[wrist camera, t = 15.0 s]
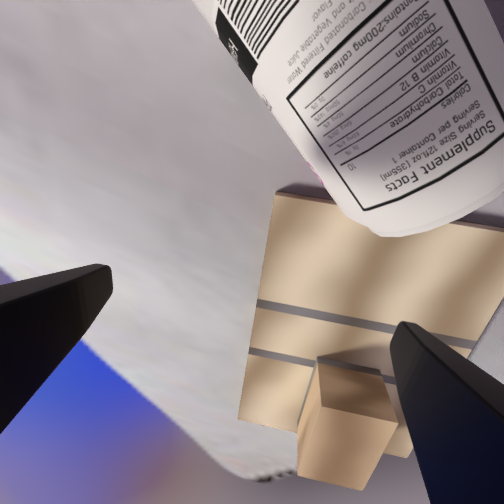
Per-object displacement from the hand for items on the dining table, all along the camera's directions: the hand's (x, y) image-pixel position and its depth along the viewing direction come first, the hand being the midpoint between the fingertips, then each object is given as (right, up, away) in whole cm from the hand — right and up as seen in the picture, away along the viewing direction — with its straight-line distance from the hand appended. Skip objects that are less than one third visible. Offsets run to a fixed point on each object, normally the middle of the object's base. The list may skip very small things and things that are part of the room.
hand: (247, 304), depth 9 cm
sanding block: (+7, -11, +15) cm, 20 cm away
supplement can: (0, +16, +2) cm, 16 cm away
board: (+8, -6, +14) cm, 17 cm away
